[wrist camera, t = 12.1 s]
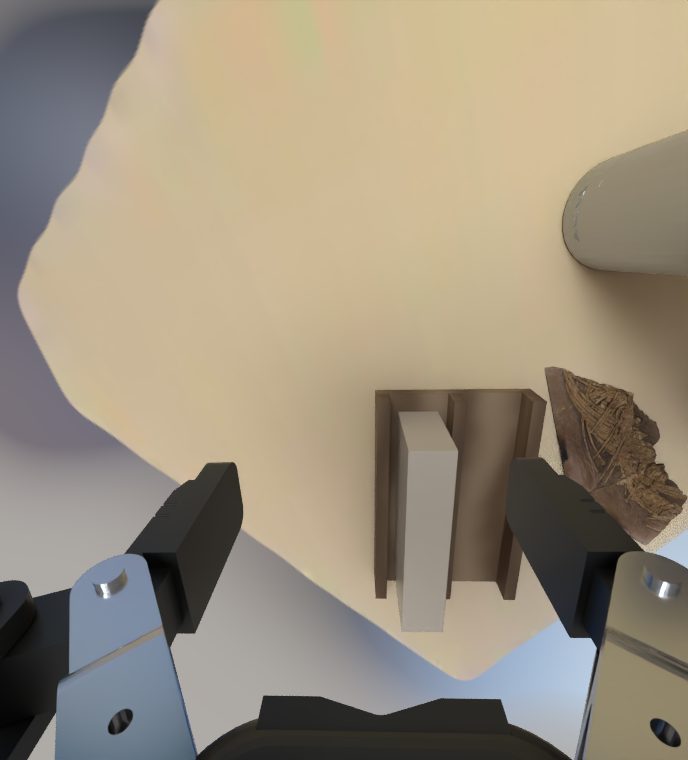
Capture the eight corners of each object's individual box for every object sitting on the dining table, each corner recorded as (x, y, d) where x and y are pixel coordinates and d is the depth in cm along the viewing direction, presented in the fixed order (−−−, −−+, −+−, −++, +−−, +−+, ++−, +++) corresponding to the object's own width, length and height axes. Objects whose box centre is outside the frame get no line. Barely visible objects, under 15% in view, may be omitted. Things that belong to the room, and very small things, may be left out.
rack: (530, 388, 38) (546, 401, 35) (503, 574, 45) (514, 599, 42) (375, 390, 38) (377, 403, 35) (374, 573, 46) (375, 598, 43)
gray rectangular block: (437, 411, 38) (458, 450, 30) (427, 567, 44) (442, 632, 37) (398, 411, 38) (408, 451, 30) (393, 567, 44) (401, 631, 37)
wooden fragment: (694, 520, 43) (702, 526, 42) (600, 559, 45) (605, 566, 44) (612, 330, 36) (619, 332, 35) (506, 387, 38) (510, 390, 37)
